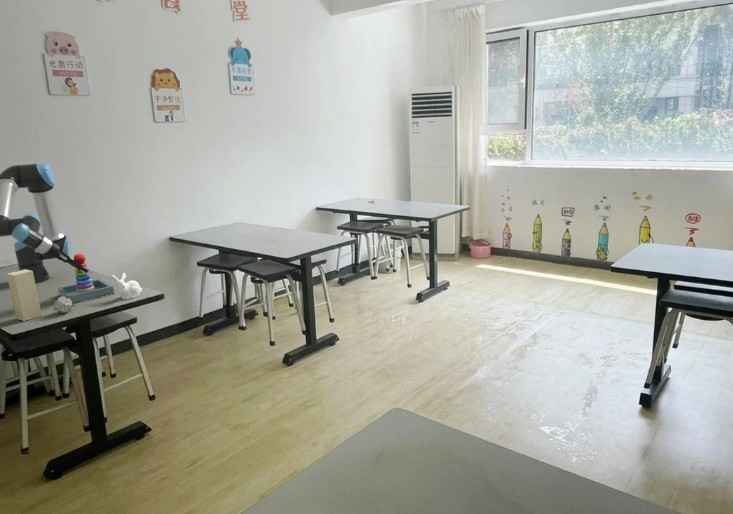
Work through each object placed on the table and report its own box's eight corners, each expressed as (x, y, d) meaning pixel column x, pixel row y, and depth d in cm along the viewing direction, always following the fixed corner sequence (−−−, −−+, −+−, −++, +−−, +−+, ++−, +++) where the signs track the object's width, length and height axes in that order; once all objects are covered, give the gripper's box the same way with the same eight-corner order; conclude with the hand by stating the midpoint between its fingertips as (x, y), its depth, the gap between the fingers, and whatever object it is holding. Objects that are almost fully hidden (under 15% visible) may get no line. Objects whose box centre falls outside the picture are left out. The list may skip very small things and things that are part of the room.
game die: (63, 320, 247) (58, 300, 250) (80, 312, 247) (75, 292, 250) (50, 317, 239) (45, 296, 242) (67, 309, 239) (62, 288, 242)
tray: (59, 295, 271) (57, 288, 270) (101, 286, 284) (100, 278, 283) (70, 304, 257) (68, 296, 256) (114, 294, 269) (113, 286, 268)
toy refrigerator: (34, 313, 247) (24, 268, 241) (42, 316, 243) (32, 270, 237) (15, 319, 240) (5, 273, 235) (23, 322, 236) (13, 275, 231)
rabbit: (124, 301, 257) (119, 277, 254) (112, 298, 262) (108, 274, 259) (146, 294, 267) (142, 270, 264) (134, 291, 272) (131, 268, 269)
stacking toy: (97, 288, 273) (91, 251, 268) (88, 293, 265) (81, 255, 261) (82, 288, 274) (76, 251, 269) (73, 293, 266) (66, 256, 261)
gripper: (37, 251, 261) (80, 276, 276) (47, 257, 248) (91, 283, 262) (47, 238, 263) (89, 264, 278) (57, 244, 250) (101, 270, 264)
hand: (90, 273), depth 270 cm, fingers closed on stacking toy, 6 cm apart
